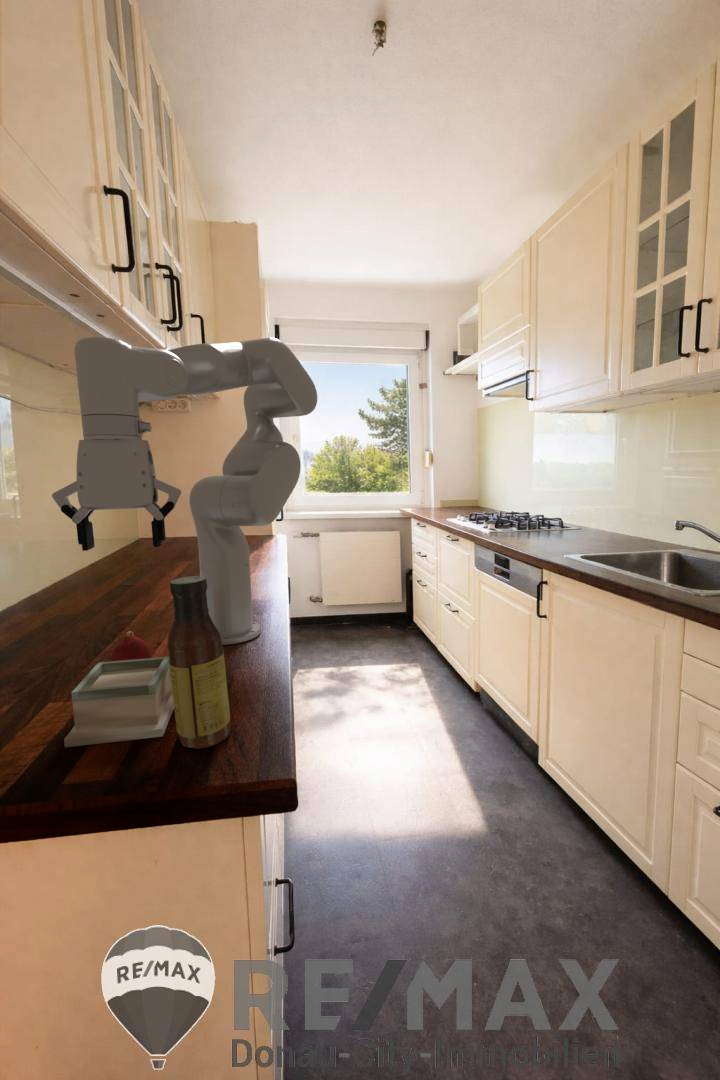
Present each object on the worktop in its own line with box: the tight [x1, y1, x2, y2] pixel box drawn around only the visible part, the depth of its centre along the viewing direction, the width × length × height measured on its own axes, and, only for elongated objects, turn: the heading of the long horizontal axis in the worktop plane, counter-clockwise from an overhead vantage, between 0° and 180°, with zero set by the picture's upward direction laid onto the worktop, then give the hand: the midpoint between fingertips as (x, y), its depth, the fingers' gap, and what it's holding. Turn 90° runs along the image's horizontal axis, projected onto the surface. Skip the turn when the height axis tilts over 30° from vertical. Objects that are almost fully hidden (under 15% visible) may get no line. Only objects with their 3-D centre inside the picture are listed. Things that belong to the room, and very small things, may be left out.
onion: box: [110, 630, 153, 662], centre depth 74 cm, size 6×6×8 cm
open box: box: [63, 656, 175, 748], centre depth 63 cm, size 12×11×6 cm
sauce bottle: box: [166, 575, 231, 750], centre depth 57 cm, size 7×6×20 cm
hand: (123, 547), depth 71 cm, fingers open, 9 cm apart
